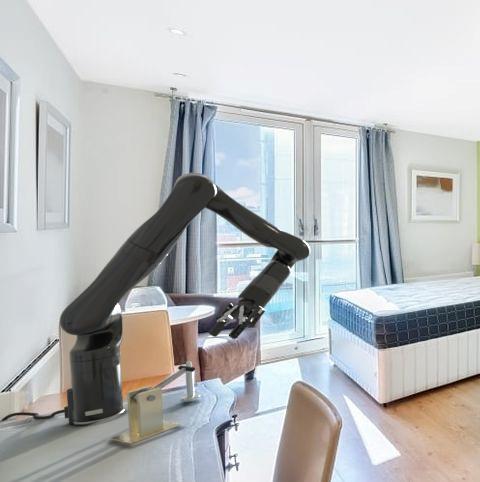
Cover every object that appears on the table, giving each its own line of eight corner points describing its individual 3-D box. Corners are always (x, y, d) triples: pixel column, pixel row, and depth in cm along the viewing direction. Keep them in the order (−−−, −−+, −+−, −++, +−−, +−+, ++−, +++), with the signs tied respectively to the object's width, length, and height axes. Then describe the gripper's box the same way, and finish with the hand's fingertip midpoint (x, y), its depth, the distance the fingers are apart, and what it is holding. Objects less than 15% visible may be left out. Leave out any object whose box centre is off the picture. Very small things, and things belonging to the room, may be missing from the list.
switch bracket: (161, 424, 114) (159, 381, 114) (181, 428, 112) (178, 384, 111) (110, 442, 105) (107, 395, 104) (130, 448, 102) (127, 399, 102)
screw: (199, 398, 131) (203, 402, 128) (178, 404, 127) (181, 408, 124) (197, 357, 130) (201, 360, 127) (175, 361, 126) (179, 364, 123)
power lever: (185, 369, 118) (180, 362, 117) (197, 371, 116) (192, 364, 115) (135, 403, 108) (129, 396, 107) (147, 406, 106) (141, 399, 105)
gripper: (235, 283, 134) (194, 327, 124) (267, 284, 130) (228, 331, 119) (253, 296, 139) (215, 341, 129) (285, 299, 135) (248, 345, 124)
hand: (221, 336), depth 124 cm, fingers open, 8 cm apart
